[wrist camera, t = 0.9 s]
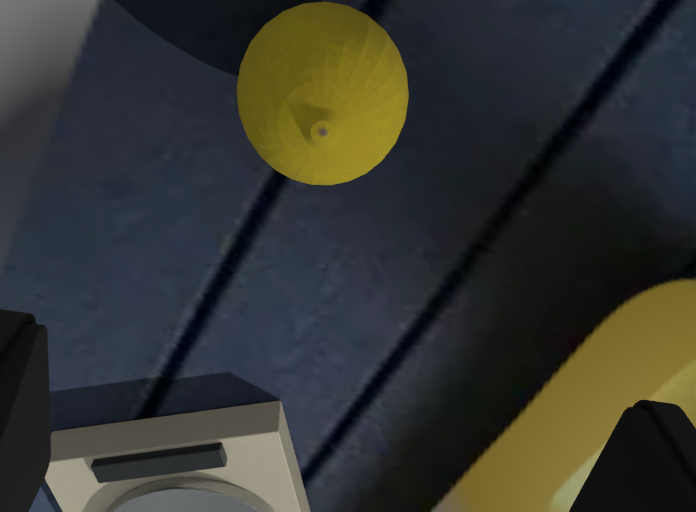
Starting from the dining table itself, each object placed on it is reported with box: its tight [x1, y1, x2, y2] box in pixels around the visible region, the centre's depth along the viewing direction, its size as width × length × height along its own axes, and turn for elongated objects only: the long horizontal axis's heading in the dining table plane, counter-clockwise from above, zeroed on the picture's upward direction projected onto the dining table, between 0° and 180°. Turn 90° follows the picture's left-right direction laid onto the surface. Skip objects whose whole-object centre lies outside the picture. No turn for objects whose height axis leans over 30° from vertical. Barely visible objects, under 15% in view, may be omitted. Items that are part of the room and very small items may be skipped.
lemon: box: [237, 2, 409, 185], centre depth 21 cm, size 6×6×8 cm
